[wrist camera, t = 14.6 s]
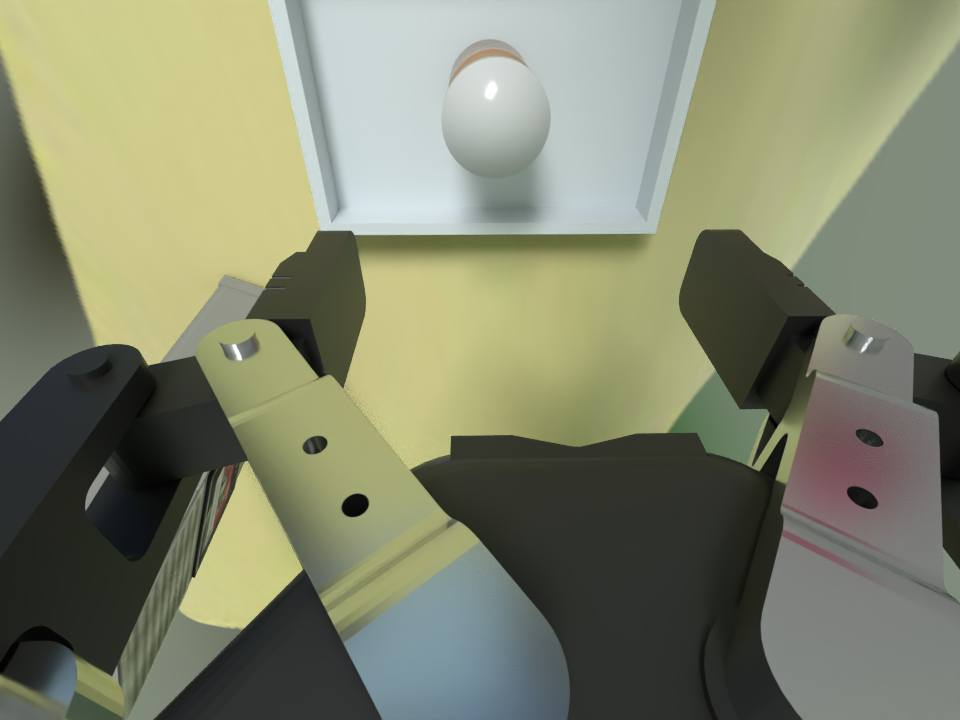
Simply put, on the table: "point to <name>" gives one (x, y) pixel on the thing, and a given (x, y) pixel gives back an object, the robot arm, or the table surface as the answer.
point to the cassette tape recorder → (199, 517)
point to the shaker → (494, 111)
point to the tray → (421, 92)
